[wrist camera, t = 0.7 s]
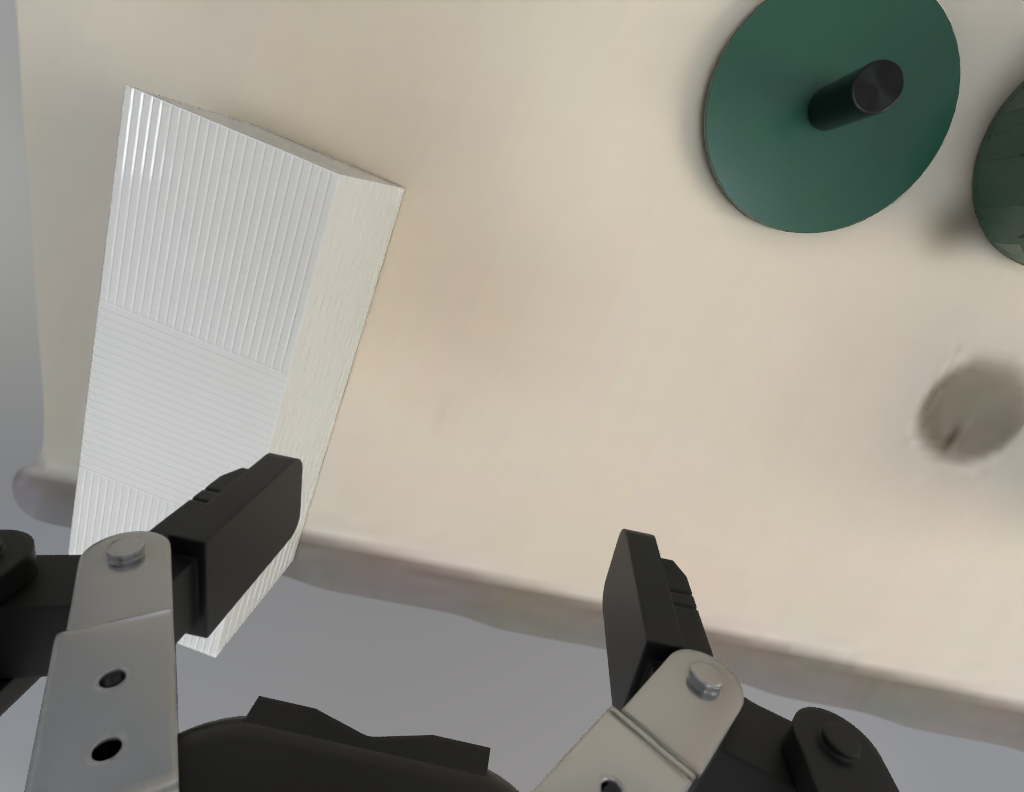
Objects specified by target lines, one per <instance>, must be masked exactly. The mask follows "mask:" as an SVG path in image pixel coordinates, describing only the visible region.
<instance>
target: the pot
mask: <svg viewBox="0 0 1024 792" xmlns="http://www.w3.org/2000/svg"><path fill="white" fill-rule="evenodd" d="M973 202H974V207H975V212H976V215H977V218H978V221H979V224H980V226H981V228H982V229H983V231H984V233H985V235H986V236H987V238H988V239H989V240H990V241H991V243H992V244H993V245H994V246H995V247H996V248H997V249H998V250H1000V251H1001V252H1002V253H1003V254H1004V255H1006V256H1008V257H1009V258H1011V259H1012V260H1014V261H1016V262H1019V263H1021V264H1024V82H1023V83H1022V84H1021V85H1020V86H1019V87H1018V88H1017V89H1016V91H1015V92H1014V93H1013V94H1012V95H1011V96H1010V97H1009V99H1008V100H1007V101H1006V102H1005V104H1004V105H1003V106H1002V108H1001V109H1000V110H999V112H998V113H997V115H996V117H995V118H994V120H993V121H992V123H991V125H990V127H989V129H988V131H987V133H986V135H985V137H984V139H983V141H982V144H981V147H980V150H979V152H978V155H977V160H976V164H975V168H974V175H973Z"/></svg>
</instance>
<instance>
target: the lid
mask: <svg viewBox="0 0 1024 792" xmlns="http://www.w3.org/2000/svg"><path fill="white" fill-rule="evenodd" d="M959 84H960V57H959V52H958V46H957V41H956V38H955V35H954V32H953V29H952V26H951V23H950V22H949V20H948V18H947V16H946V14H945V12H944V10H943V9H942V7H941V6H940V5H939V3H938V2H937V1H936V0H766V1H765V2H763V3H762V4H761V5H760V6H759V7H758V8H757V9H756V10H755V11H754V12H753V13H752V14H751V15H750V16H749V17H748V18H747V19H746V20H745V21H744V23H743V24H742V25H741V26H740V28H739V29H738V30H737V32H736V33H735V34H734V36H733V37H732V38H731V40H730V42H729V43H728V45H727V47H726V48H725V50H724V52H723V53H722V55H721V57H720V60H719V62H718V64H717V66H716V68H715V71H714V73H713V76H712V79H711V82H710V86H709V89H708V93H707V98H706V103H705V111H704V142H705V147H706V153H707V157H708V161H709V164H710V167H711V170H712V172H713V174H714V177H715V179H716V181H717V183H718V185H719V186H720V188H721V189H722V191H723V192H724V194H725V195H726V196H727V197H728V199H729V200H730V201H731V202H732V203H733V204H734V205H735V206H736V207H737V208H738V209H739V210H741V211H742V212H743V213H744V214H745V215H747V216H749V217H750V218H752V219H754V220H755V221H757V222H759V223H761V224H763V225H766V226H768V227H771V228H774V229H778V230H782V231H787V232H796V233H819V232H826V231H833V230H837V229H840V228H844V227H847V226H850V225H853V224H855V223H858V222H860V221H863V220H865V219H867V218H869V217H870V216H872V215H874V214H876V213H878V212H880V211H881V210H882V209H884V208H885V207H887V206H888V205H890V204H891V203H893V202H894V201H895V200H896V199H897V198H899V197H900V196H901V195H902V194H903V193H904V192H906V191H907V190H908V189H909V188H910V187H911V186H912V185H913V183H914V182H915V181H916V180H917V179H918V178H919V177H920V176H921V175H922V173H923V172H924V171H925V169H926V168H927V167H928V165H929V164H930V163H931V161H932V160H933V158H934V157H935V155H936V153H937V152H938V150H939V148H940V147H941V145H942V143H943V140H944V138H945V136H946V134H947V132H948V130H949V127H950V124H951V121H952V118H953V115H954V112H955V108H956V104H957V99H958V94H959Z"/></svg>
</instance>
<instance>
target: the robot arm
mask: <svg viewBox="0 0 1024 792" xmlns="http://www.w3.org/2000/svg"><path fill="white" fill-rule="evenodd" d="M302 474H303V465H302V461H301V460H300V459H297V458H293V457H288V456H283V455H278V454H274V453H268V454H266V455H265V456H263V457H262V458H261V459H260V460H259V461H257V462H256V463H255V464H254V465H252V466H251V467H250V468H249V469H246V468H240V469H237V470H234V471H232V472H229V473H227V474H224V475H222V476H220V477H219V478H217V479H216V480H215V481H213V482H212V483H211V484H209V485H208V486H207V487H206V488H205V490H202V491H200V492H199V493H198V494H196V495H195V496H194V497H193V499H192V500H189V501H187V502H186V503H185V504H183V505H182V506H181V507H180V508H178V509H177V510H176V511H174V512H173V513H172V514H170V515H169V516H168V517H167V518H165V519H164V520H163V521H161V522H160V523H159V524H157V525H156V526H155V527H154V528H152V529H151V530H150V531H132V532H125V533H120V534H116V535H112V536H110V537H107V538H104V539H102V540H100V541H98V542H96V543H95V544H93V545H91V546H90V547H89V548H87V549H86V550H85V551H84V552H83V554H82V555H36V551H35V545H34V540H33V538H32V537H31V536H30V535H29V534H27V533H24V532H21V531H17V530H0V716H1V715H2V714H3V713H4V712H5V711H6V710H7V709H8V708H9V707H10V706H11V705H12V704H13V703H15V702H16V701H17V700H18V699H19V698H20V697H21V696H22V695H23V694H24V693H25V692H26V691H27V690H28V689H29V688H30V687H31V686H32V685H33V684H34V683H35V682H36V681H37V680H38V679H39V678H40V677H43V676H47V680H46V685H45V690H44V695H43V700H42V705H41V710H40V715H39V720H38V726H37V731H36V736H35V740H34V745H33V750H32V755H31V760H30V765H29V770H28V776H27V781H26V785H25V791H24V792H519V791H518V790H516V789H515V788H514V787H513V786H512V785H511V784H510V783H509V782H507V781H506V780H504V779H503V778H502V777H500V776H499V775H497V774H495V773H494V772H492V771H490V770H488V761H489V754H490V748H488V747H484V746H479V745H475V744H471V743H466V742H461V741H457V740H452V739H448V738H444V737H439V736H435V735H422V736H421V735H420V736H389V737H388V736H387V737H370V736H366V735H364V734H362V733H360V732H358V731H356V730H354V729H352V728H351V727H349V726H347V725H345V724H343V723H341V722H339V721H337V720H336V719H334V718H332V717H330V716H328V715H326V714H324V713H323V712H321V711H319V710H317V709H315V708H310V707H306V706H302V705H297V704H293V703H288V702H283V701H279V700H275V699H270V698H265V697H261V696H259V697H258V699H257V700H256V702H255V704H254V705H253V707H252V708H251V710H250V712H249V713H248V715H247V716H238V717H231V718H224V719H219V720H216V721H211V722H208V723H204V724H201V725H198V726H196V727H193V728H190V729H188V730H186V731H183V732H181V733H179V720H178V696H177V695H178V694H177V671H176V669H177V668H176V644H177V642H178V641H179V640H180V639H181V638H182V637H183V636H184V635H185V634H189V635H194V636H198V637H203V638H208V637H209V636H210V635H211V633H212V632H213V631H214V630H215V629H216V627H217V626H218V625H219V624H220V623H221V621H222V620H223V619H224V618H225V617H226V615H227V614H228V613H229V612H230V611H231V609H232V608H233V607H234V606H235V605H236V603H237V602H238V601H239V600H240V599H241V597H242V596H243V595H244V594H245V593H246V592H247V590H248V589H249V588H250V587H251V586H252V584H253V583H254V582H255V581H256V580H257V578H258V577H259V576H260V575H261V574H262V572H263V571H264V570H265V569H266V568H267V566H268V565H269V564H270V563H271V562H272V560H273V559H274V558H275V557H276V556H277V554H278V553H279V552H280V551H281V550H282V548H283V547H284V546H285V545H286V544H287V542H288V541H289V540H290V539H291V537H292V536H293V534H294V532H295V530H296V528H297V525H298V522H299V518H300V511H301V492H302ZM603 615H604V625H605V636H606V646H607V655H608V666H609V676H610V686H611V696H612V707H610V708H609V709H608V710H607V711H606V712H605V713H604V714H603V715H602V716H601V717H600V718H599V719H598V720H597V721H596V722H595V724H594V725H593V726H592V727H591V728H590V729H589V730H588V731H587V732H586V733H585V734H584V735H583V737H581V739H580V740H579V741H578V742H577V743H576V744H575V745H574V746H573V747H572V748H571V749H570V751H569V752H568V753H567V754H566V755H565V756H564V757H563V758H562V759H561V760H560V761H559V762H558V763H557V765H556V766H555V767H554V768H553V769H552V770H551V771H550V772H549V774H547V775H546V776H545V778H544V779H543V780H542V781H541V782H540V783H539V784H538V785H537V786H536V787H535V788H534V789H533V791H532V792H899V790H898V788H897V786H896V784H895V783H894V781H893V779H892V777H891V775H890V773H889V771H888V769H887V767H886V766H885V764H884V762H883V760H882V758H881V756H880V755H879V753H878V751H877V749H876V748H875V747H874V746H873V744H872V743H871V742H870V741H869V739H868V738H867V737H866V736H865V735H864V734H863V733H862V732H861V731H860V730H858V729H857V728H856V727H855V726H853V725H852V724H851V723H849V722H848V721H846V720H845V719H843V718H842V717H840V716H838V715H836V714H834V713H832V712H830V711H827V710H824V709H821V708H816V707H806V708H802V709H800V710H799V711H798V712H797V713H796V714H795V716H794V718H793V720H792V721H790V720H787V719H785V718H783V717H781V716H779V715H777V714H775V713H773V712H771V711H769V710H767V709H765V708H762V707H760V706H758V705H757V704H755V703H753V702H751V701H749V700H748V699H747V698H745V697H744V694H743V690H742V687H741V685H740V683H739V681H738V680H737V678H736V677H735V675H734V674H733V673H732V672H731V671H730V670H729V669H728V668H727V667H726V666H725V665H724V664H722V663H721V662H720V661H718V660H717V659H715V658H714V657H713V654H712V651H711V648H710V645H709V642H708V639H707V636H706V633H705V630H704V627H703V624H702V621H701V619H700V616H699V613H698V610H696V604H695V601H694V598H693V596H692V592H691V589H690V586H689V583H688V580H687V577H686V576H685V574H684V573H683V572H682V571H681V570H680V568H679V567H678V566H677V565H676V564H675V562H674V561H673V560H668V559H663V558H661V557H660V553H659V550H658V546H657V543H656V539H655V537H654V535H651V534H646V533H641V532H637V531H632V530H627V529H622V531H621V533H620V535H619V538H618V541H617V544H616V548H615V551H614V554H613V558H612V561H611V564H610V567H609V571H608V574H607V577H606V581H605V585H604V591H603Z"/></svg>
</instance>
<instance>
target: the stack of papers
mask: <svg viewBox="0 0 1024 792" xmlns="http://www.w3.org/2000/svg"><path fill="white" fill-rule="evenodd" d="M404 191H405V188H402V187H400V186H398V185H395V184H393V183H391V182H388V181H386V180H383V179H381V178H379V177H376V176H374V175H371V174H369V173H367V172H364V171H362V170H360V169H357V168H355V167H352V166H350V165H348V164H345V163H343V162H340V161H338V160H336V159H333V158H331V157H328V156H326V155H324V154H321V153H319V152H317V151H314V150H312V149H309V148H307V147H305V146H302V145H300V144H297V143H295V142H293V141H290V140H288V139H286V138H283V137H281V136H278V135H276V134H274V133H271V132H269V131H266V130H264V129H262V128H259V127H257V126H255V125H252V124H249V123H245V122H242V121H239V120H236V119H233V118H230V117H226V116H223V115H220V114H216V113H214V112H211V111H207V110H204V109H201V108H198V107H194V106H192V105H188V104H185V103H182V102H179V101H176V100H173V99H169V98H166V97H163V96H160V95H156V94H154V93H150V92H147V91H144V90H140V89H138V88H135V87H132V86H128V85H125V89H124V97H123V105H122V113H121V122H120V130H119V138H118V146H117V155H116V163H115V171H114V180H113V188H112V196H111V204H110V213H109V221H108V229H107V238H106V246H105V254H104V262H103V271H102V279H101V287H100V295H99V304H98V312H97V320H96V329H95V337H94V345H93V353H92V362H91V370H90V378H89V387H88V395H87V403H86V411H85V420H84V428H83V436H82V444H81V453H80V461H79V469H78V478H77V486H76V494H75V502H74V511H73V519H72V527H71V536H70V544H69V552H68V555H82V554H83V552H84V551H85V550H86V549H87V548H89V547H90V546H91V545H93V544H95V543H96V542H98V541H100V540H102V539H104V538H107V537H110V536H112V535H116V534H120V533H125V532H132V531H150V530H151V529H152V528H154V527H155V526H156V525H157V524H159V523H160V522H161V521H163V520H164V519H165V518H167V517H168V516H169V515H170V514H172V513H173V512H174V511H176V510H177V509H178V508H180V507H181V506H182V505H183V504H185V503H186V502H187V501H189V500H192V499H193V497H194V496H195V495H196V494H198V493H199V492H200V491H202V490H205V488H206V487H207V486H208V485H209V484H211V483H212V482H213V481H215V480H216V479H217V478H219V477H220V476H222V475H224V474H227V473H229V472H232V471H234V470H237V469H240V468H246V469H249V468H250V467H251V466H252V465H254V464H255V463H256V462H257V461H259V460H260V459H261V458H262V457H263V456H265V455H266V454H268V453H274V454H278V455H283V456H288V457H293V458H297V459H300V460H301V461H302V465H303V474H302V492H301V511H300V518H299V522H298V525H297V528H296V530H295V532H294V534H293V536H292V537H291V539H290V540H289V541H288V542H287V544H286V545H285V546H284V547H283V548H282V550H281V551H280V552H279V553H278V554H277V556H276V557H275V558H274V559H273V560H272V562H271V563H270V564H269V565H268V566H267V568H266V569H265V570H264V571H263V572H262V574H261V575H260V576H259V577H258V578H257V580H256V581H255V582H254V583H253V584H252V586H251V587H250V588H249V589H248V590H247V592H246V593H245V594H244V595H243V596H242V597H241V599H240V600H239V601H238V602H237V603H236V605H235V606H234V607H233V608H232V609H231V611H230V612H229V613H228V614H227V615H226V617H225V618H224V619H223V620H222V621H221V623H220V624H219V625H218V626H217V627H216V629H215V630H214V631H213V632H212V633H211V635H210V636H209V637H208V638H203V637H198V636H194V635H189V634H185V635H184V636H183V637H182V638H181V639H180V640H179V641H178V642H177V643H178V644H180V645H183V646H186V647H188V648H191V649H194V650H196V651H199V652H201V653H204V654H206V655H209V656H212V657H214V658H215V657H216V656H217V655H218V654H219V653H220V651H221V650H222V649H223V646H224V645H226V644H227V643H228V641H229V640H230V639H231V638H232V634H233V635H234V634H235V633H236V631H237V630H238V629H239V628H240V624H241V625H242V624H243V623H244V621H245V620H246V619H247V617H248V615H250V614H251V613H252V611H253V610H254V609H255V606H257V605H258V604H259V603H260V601H261V600H262V597H264V596H265V595H266V594H267V593H268V591H269V589H271V588H272V586H273V585H274V584H275V581H277V580H278V579H279V577H280V576H281V574H283V573H284V571H285V570H286V569H287V566H289V565H290V564H291V562H292V561H293V559H294V556H295V552H296V549H297V546H298V542H299V539H300V536H301V532H302V529H303V526H304V523H305V519H306V516H307V513H308V509H309V506H310V503H311V499H312V496H313V493H314V489H315V486H316V483H317V479H318V476H319V473H320V469H321V466H322V463H323V459H324V456H325V453H326V450H327V446H328V443H329V440H330V436H331V433H332V430H333V426H334V423H335V420H336V416H337V413H338V410H339V406H340V403H341V400H342V396H343V393H344V390H345V386H346V383H347V380H348V377H349V373H350V370H351V367H352V363H353V360H354V357H355V353H356V350H357V347H358V343H359V340H360V337H361V333H362V330H363V327H364V323H365V320H366V317H367V314H368V310H369V307H370V304H371V300H372V297H373V294H374V290H375V287H376V284H377V280H378V277H379V274H380V270H381V267H382V264H383V260H384V257H385V254H386V250H387V247H388V244H389V241H390V237H391V234H392V231H393V227H394V224H395V221H396V217H397V214H398V211H399V207H400V204H401V201H402V197H403V194H404Z"/></svg>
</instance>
